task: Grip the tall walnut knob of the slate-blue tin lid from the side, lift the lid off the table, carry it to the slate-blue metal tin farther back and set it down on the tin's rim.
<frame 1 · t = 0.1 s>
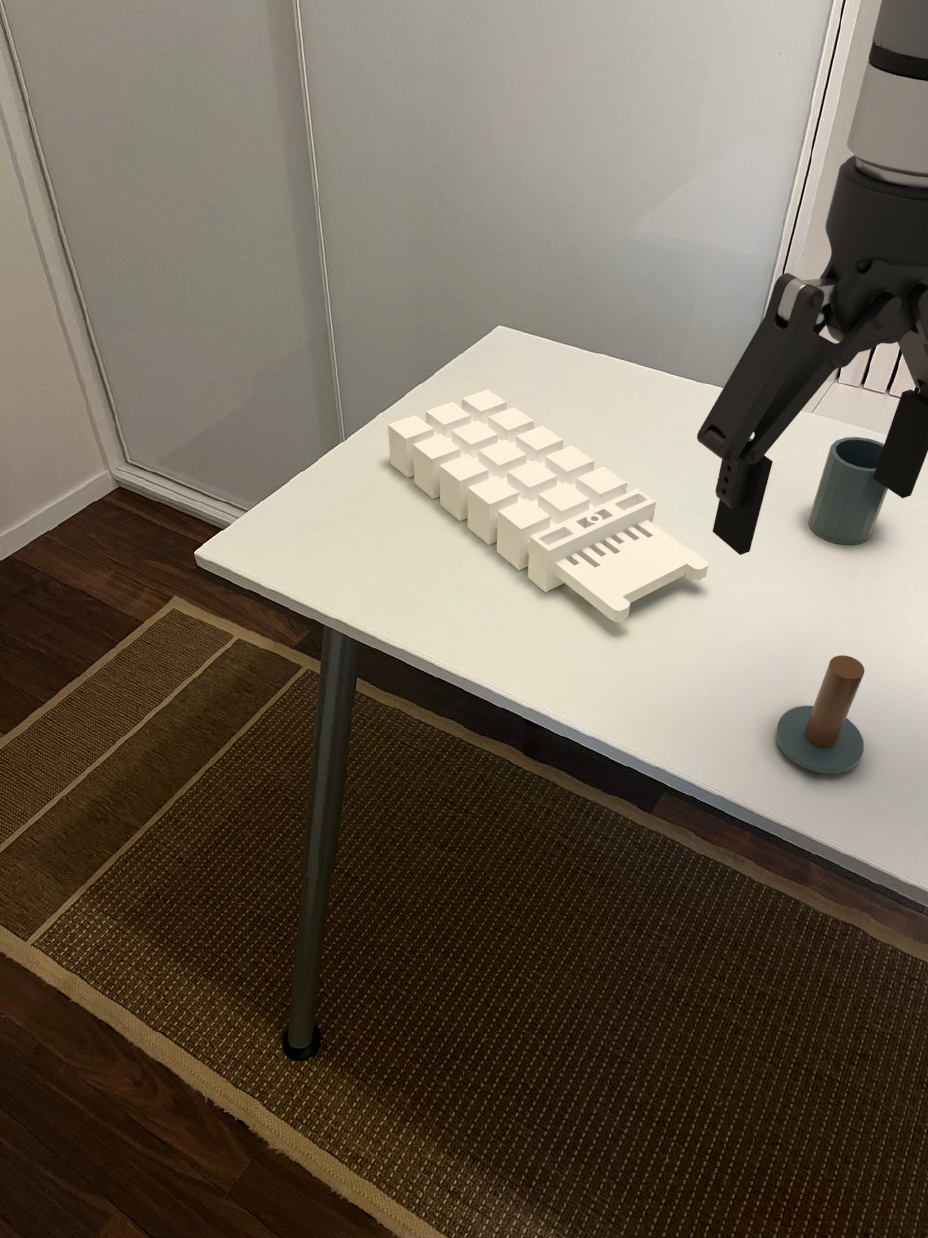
hand: (813, 513, 61), 20 cm above the table, tool pointing down, fingers open, 13 cm apart
tin: (839, 526, 94), on the table
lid: (818, 741, 72), point 1 cm above the table
organizer: (537, 521, 95), on the table
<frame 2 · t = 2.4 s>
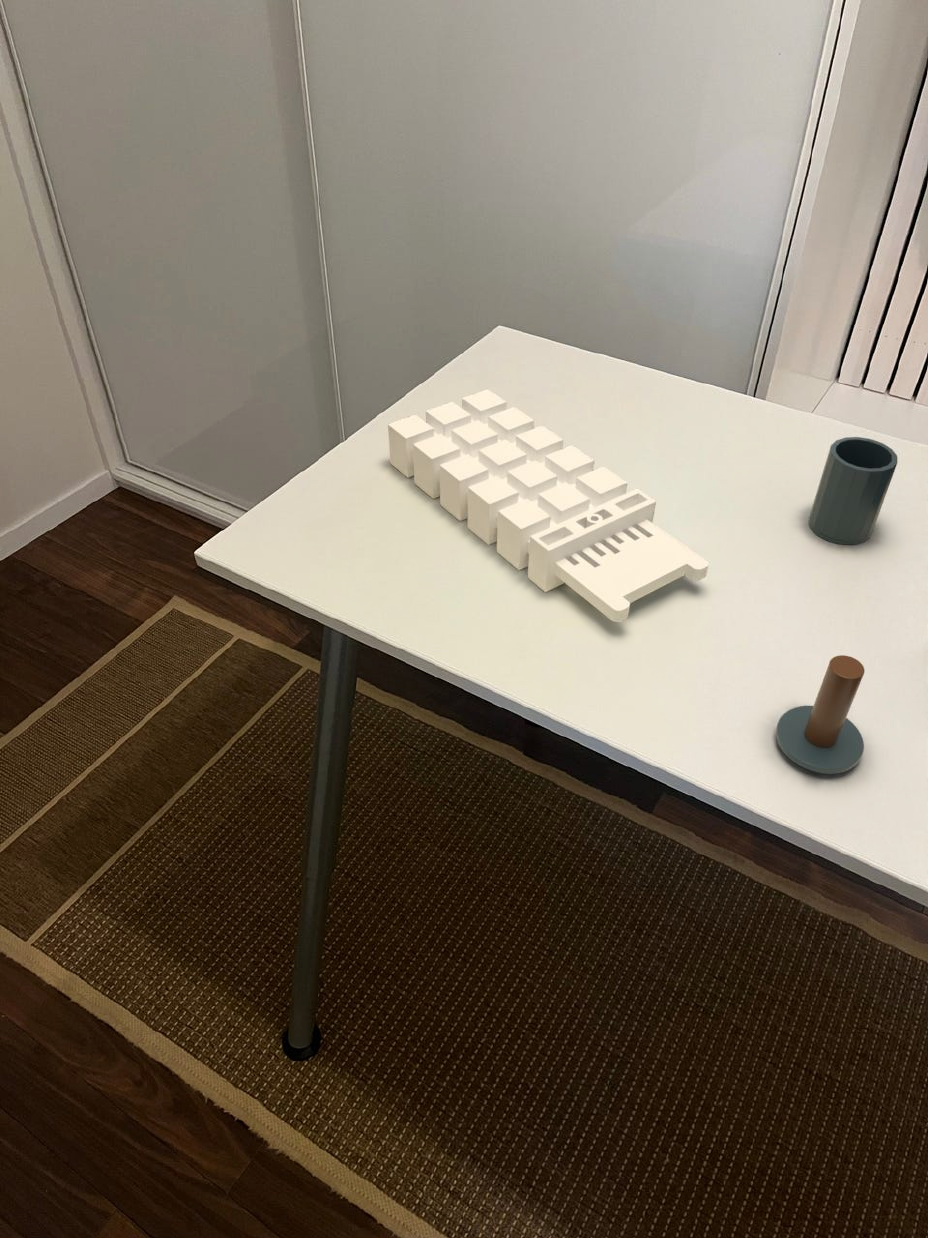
nothing on the table moved.
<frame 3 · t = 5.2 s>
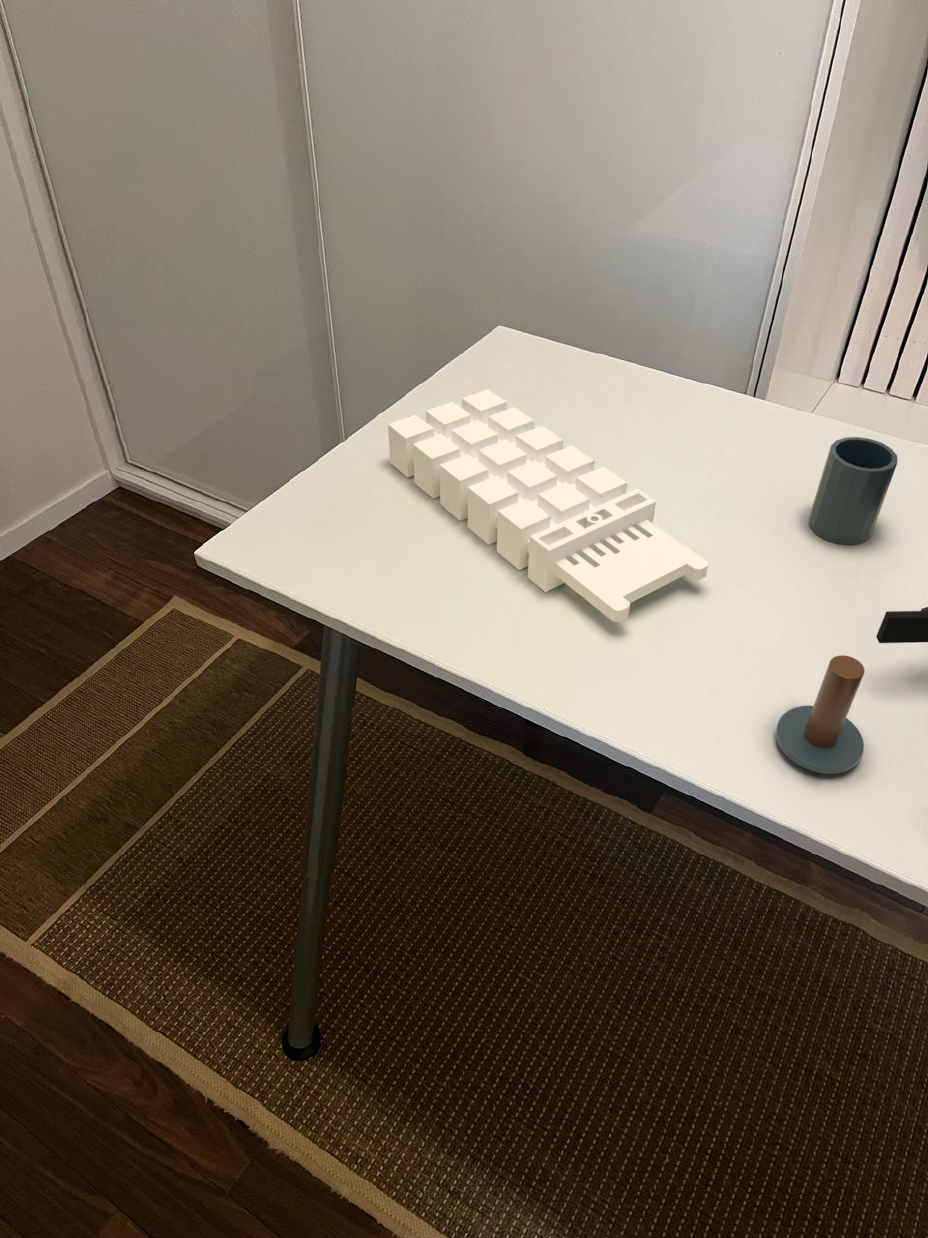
hand: (915, 690, 69), 6 cm above the table, tool horizontal, fingers open, 13 cm apart
nothing on the table moved.
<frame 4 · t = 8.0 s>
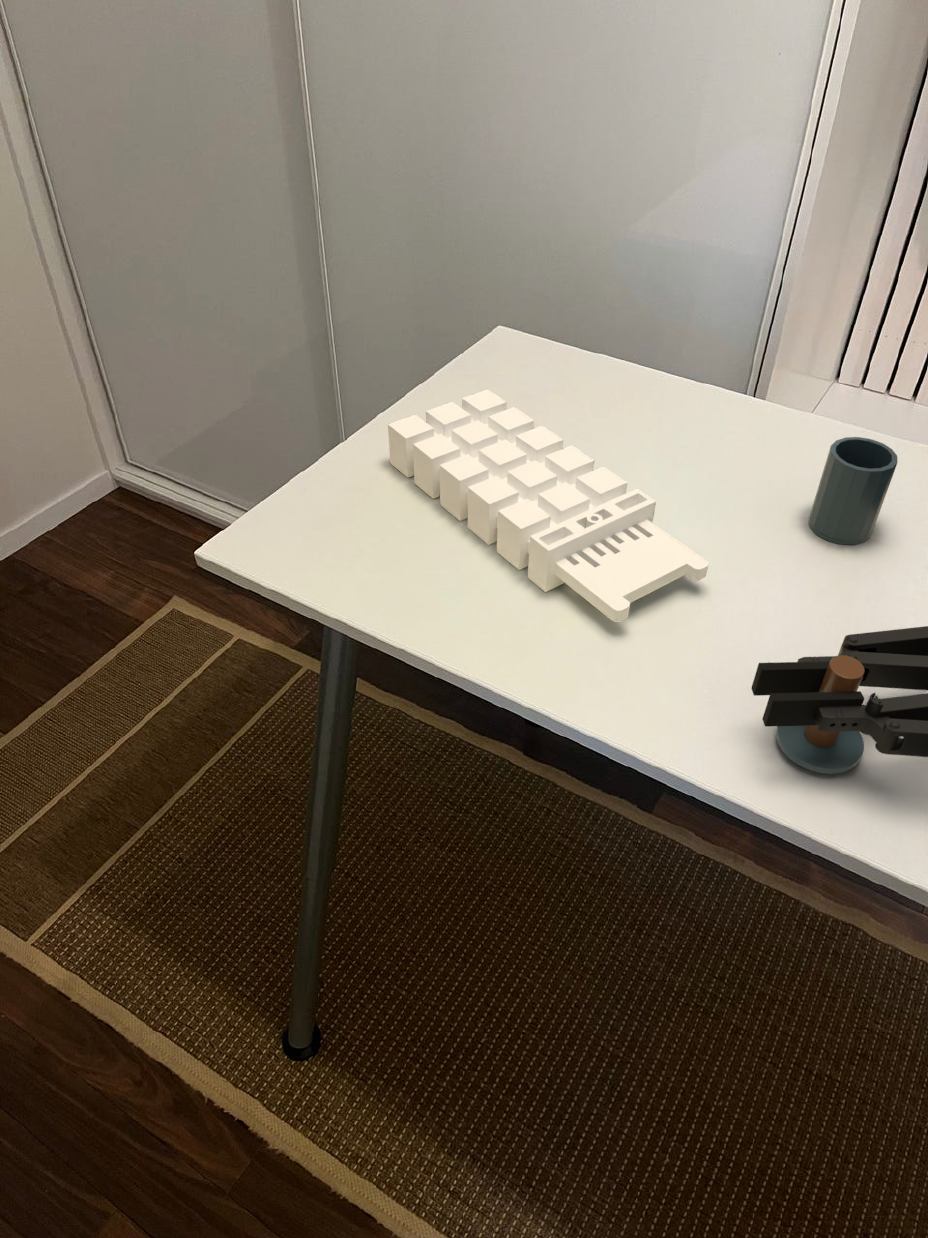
hand: (762, 694, 69), 6 cm above the table, tool horizontal, fingers closed on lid, 2 cm apart
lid: (818, 741, 72), point 1 cm above the table, touching gripper
everything else where it was.
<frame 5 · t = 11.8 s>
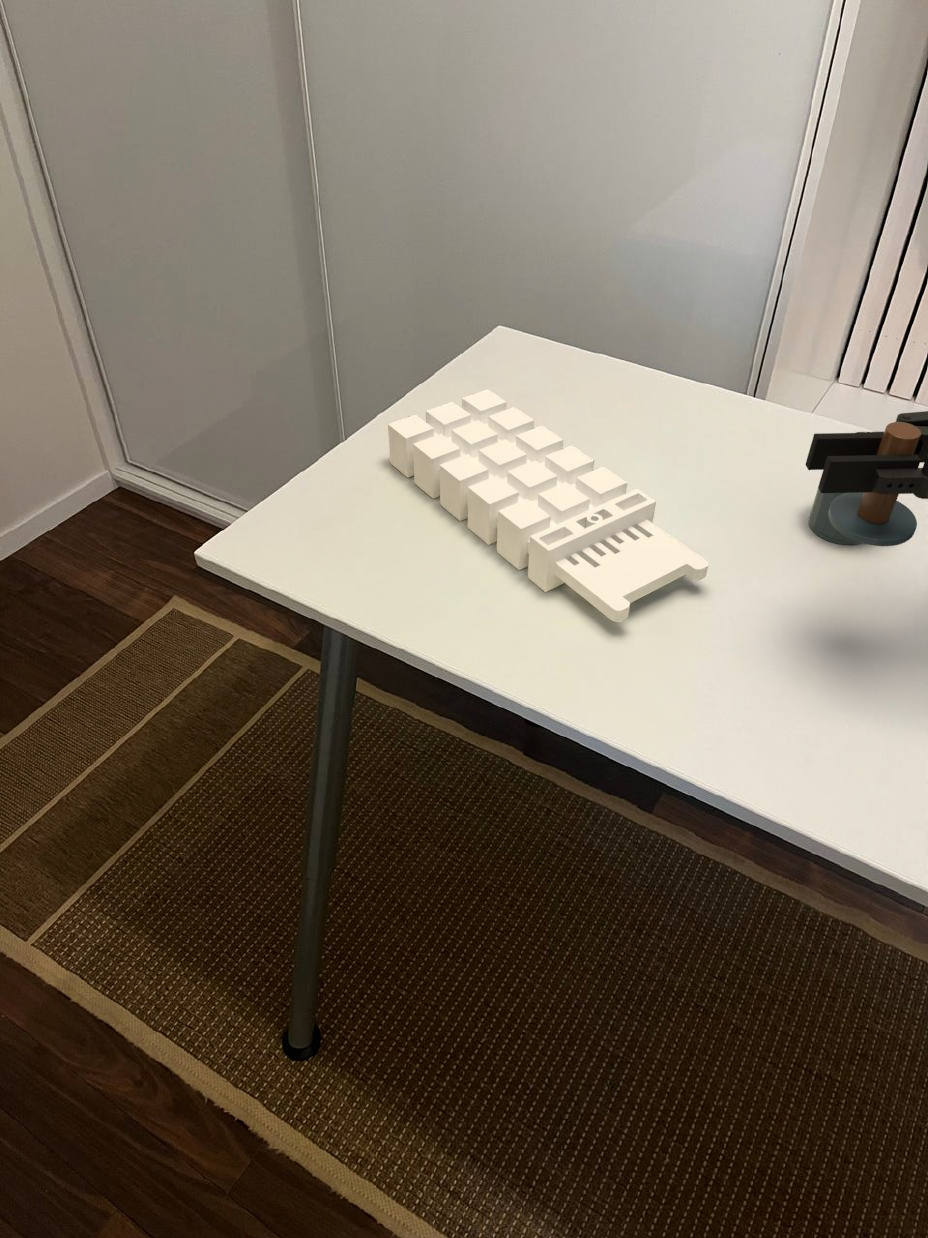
hand: (818, 463, 69), 18 cm above the table, tool horizontal, fingers closed on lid, 2 cm apart
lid: (870, 521, 73), point 13 cm above the table, touching gripper
everything else where it was.
when the fingers open (14 cm above the table, at t = 15.5 s): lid stays where it is, resting on tin.
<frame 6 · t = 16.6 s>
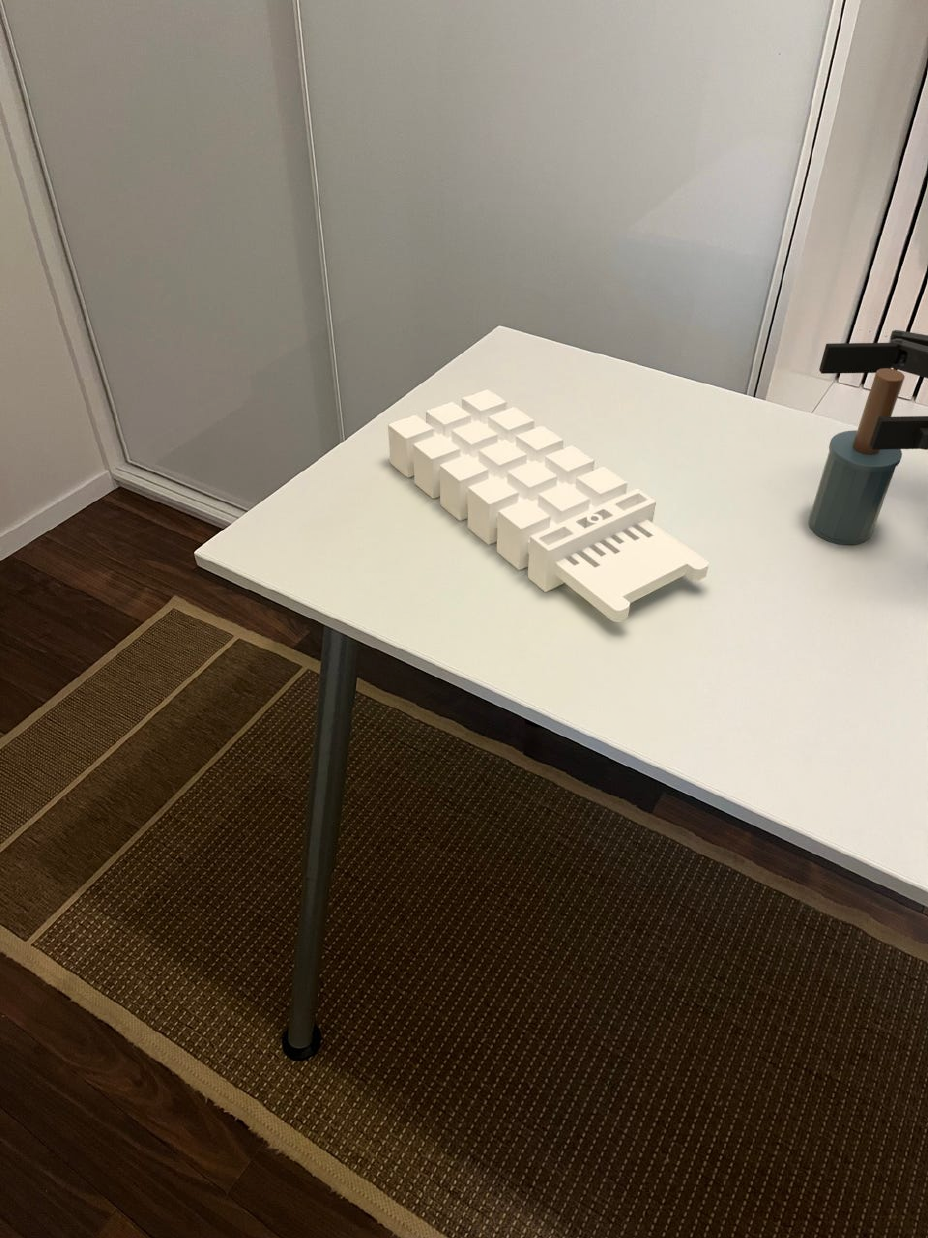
hand: (847, 393, 84), 15 cm above the table, tool horizontal, fingers open, 13 cm apart
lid: (864, 453, 88), point 8 cm above the table, touching tin
everything else where it was.
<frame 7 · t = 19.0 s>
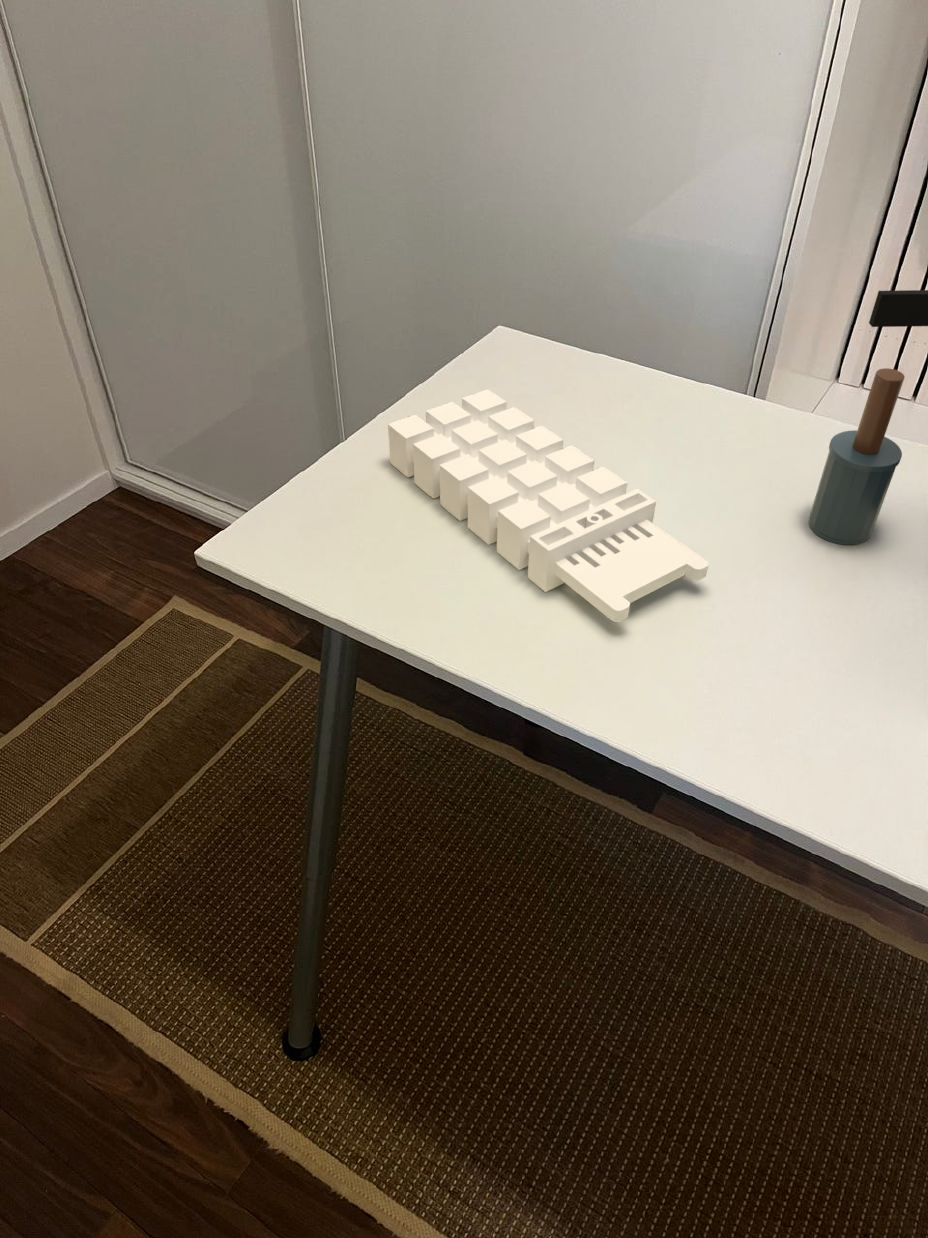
hand: (907, 346, 71), 24 cm above the table, tool horizontal, fingers open, 13 cm apart
nothing on the table moved.
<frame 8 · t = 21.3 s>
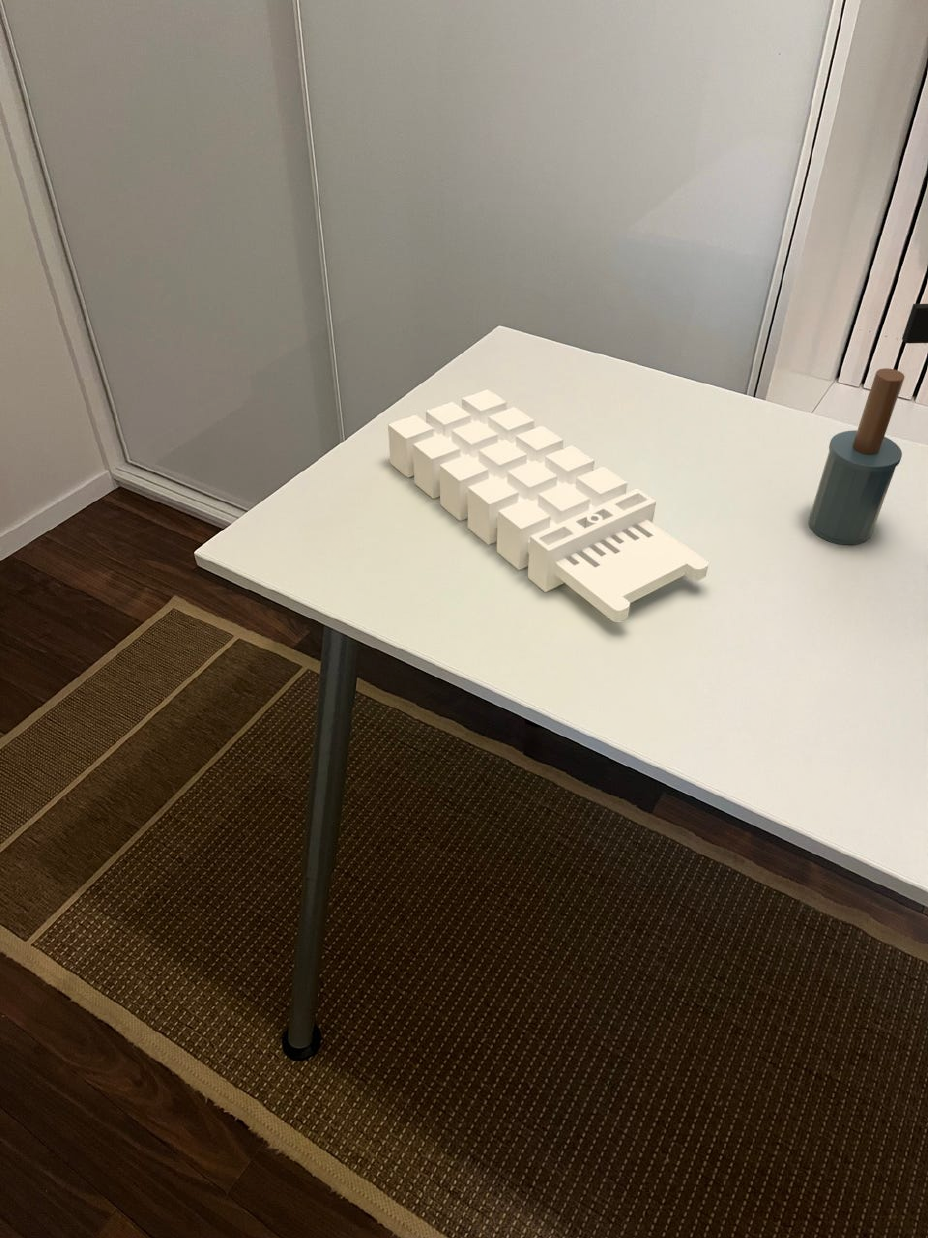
nothing on the table moved.
at the end: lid 0.0 cm off-centre on the tin, point 8.5 cm above the tin's base; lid tilted 0°; the gripper is holding nothing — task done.
